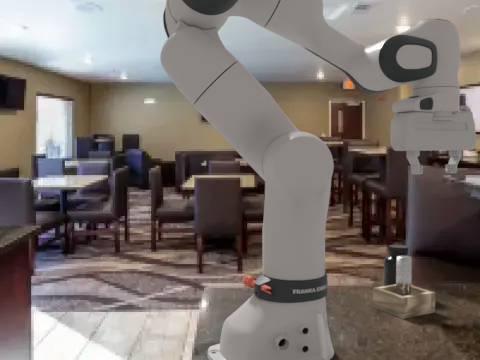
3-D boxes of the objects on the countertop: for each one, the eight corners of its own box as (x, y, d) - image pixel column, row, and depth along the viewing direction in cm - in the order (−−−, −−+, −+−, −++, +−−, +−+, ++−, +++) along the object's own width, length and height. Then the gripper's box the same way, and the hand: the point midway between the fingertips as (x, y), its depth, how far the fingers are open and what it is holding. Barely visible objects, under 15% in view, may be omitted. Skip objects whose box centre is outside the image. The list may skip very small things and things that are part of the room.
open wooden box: (402, 318, 110) (403, 298, 110) (372, 307, 119) (373, 287, 118) (434, 312, 114) (435, 292, 114) (403, 301, 123) (403, 282, 123)
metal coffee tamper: (403, 310, 113) (403, 260, 112) (386, 304, 117) (387, 256, 117) (419, 306, 115) (420, 257, 115) (403, 301, 120) (404, 254, 119)
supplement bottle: (407, 299, 125) (408, 249, 124) (379, 294, 129) (380, 247, 128) (415, 292, 131) (415, 245, 130) (388, 288, 134) (388, 242, 134)
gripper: (458, 107, 110) (457, 171, 111) (385, 103, 101) (384, 174, 102) (484, 104, 105) (483, 172, 105) (409, 100, 95) (408, 175, 96)
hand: (434, 173), depth 104 cm, fingers open, 8 cm apart
